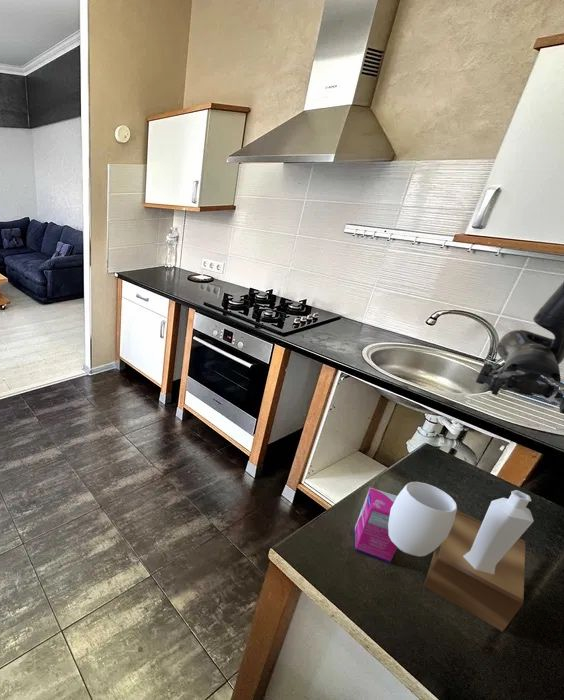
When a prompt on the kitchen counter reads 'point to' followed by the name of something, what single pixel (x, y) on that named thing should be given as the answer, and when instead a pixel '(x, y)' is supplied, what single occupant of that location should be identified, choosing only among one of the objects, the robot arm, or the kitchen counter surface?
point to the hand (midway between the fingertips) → (530, 399)
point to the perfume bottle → (500, 531)
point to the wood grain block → (477, 576)
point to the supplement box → (375, 526)
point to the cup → (421, 518)
